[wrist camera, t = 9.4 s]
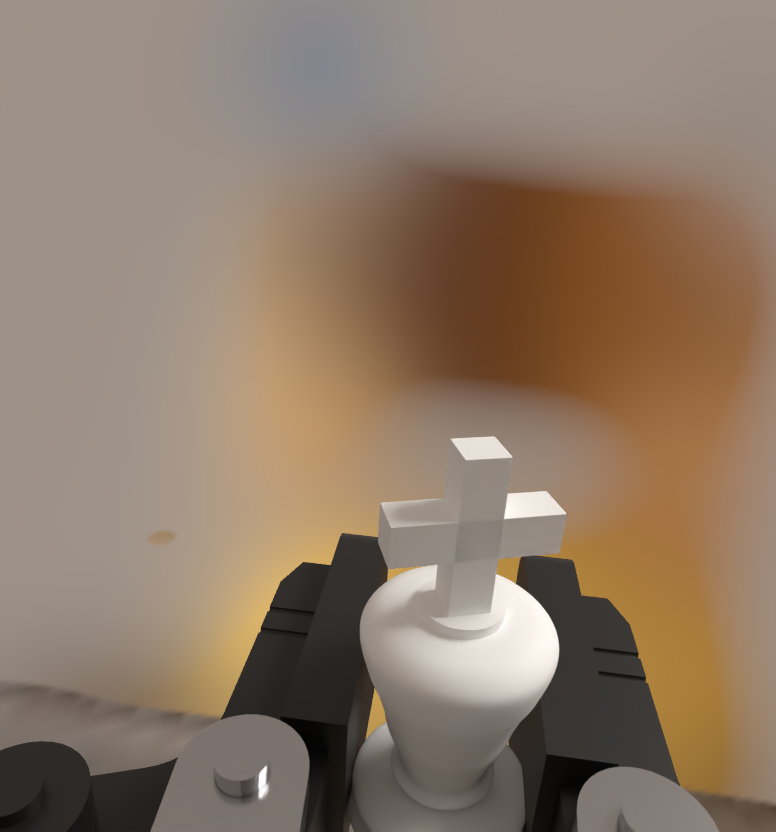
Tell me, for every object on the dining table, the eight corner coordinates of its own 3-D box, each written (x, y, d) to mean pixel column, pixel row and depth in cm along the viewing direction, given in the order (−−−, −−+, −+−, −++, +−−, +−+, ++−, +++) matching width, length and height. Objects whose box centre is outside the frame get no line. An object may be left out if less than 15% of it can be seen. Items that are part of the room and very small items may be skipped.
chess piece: (231, 915, 12) (201, 363, 8) (500, 861, 13) (593, 355, 9) (241, 1399, 7) (181, 693, 3) (649, 1252, 8) (965, 592, 4)
